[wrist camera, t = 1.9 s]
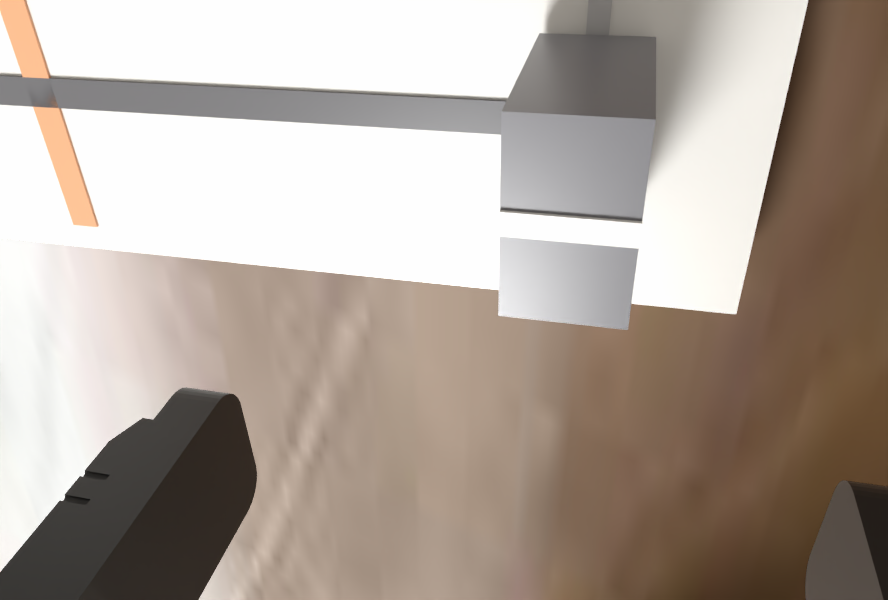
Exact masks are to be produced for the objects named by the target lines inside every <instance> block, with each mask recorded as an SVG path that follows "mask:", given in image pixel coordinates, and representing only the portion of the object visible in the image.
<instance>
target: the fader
mask: <svg viewBox="0 0 888 600" xmlns="http://www.w3.org/2000/svg"><path fill="white" fill-rule="evenodd" d="M655 122H656V37H645V36H613V35H581V34H548V33H539V35H538V37H537V39H536V41H535V43H534V45H533V47H532V49H531V52H530V54H529V56H528V58H527V60H526V62H525V64H524V66H523V68H522V70H521V72H520V74H519V76H518V78H517V80H516V82H515V84H514V87H513V89H512V91H511V93H510V95H509V97H508V99H507V101H506V103H505V105H504V107H503V109H502V111H501V176H500V211H499V236H500V245H499V314H498V316H506V317H515V318H524V319H533V320H542V321H551V322H561V323H570V324H579V325H588V326H597V327H606V328H615V329H624V330H628V324H629V317H630V309H631V302H632V294H633V287H634V279H635V272H636V265H637V257H638V250H639V244H640V236H641V229H642V220H643V212H644V205H645V197H646V190H647V182H648V175H649V167H650V160H651V152H652V145H653V137H654V130H655Z"/></svg>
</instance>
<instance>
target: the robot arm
mask: <svg viewBox="0 0 888 600" xmlns="http://www.w3.org/2000/svg"><path fill="white" fill-rule="evenodd" d="M256 481H257V471H256V464H255V460H254V456H253V452H252V448H251V444H250V440H249V436H248V432H247V428H246V424H245V420H244V416H243V412H242V408H241V404H240V401H239V399H238V398H237V397H236V396H235V395H234V394H229V393H221V392H214V391H207V390H200V389H192V388H182V389H180V390H178V391H177V392H176V393H175V394H174V395H173V396H172V397H171V398H170V399H169V401H168V402H167V403H166V405H165V406H164V407H163V408H162V410H161V411H160V412H159V413H158V415H157V416H156V417H155V418H154V420H152V419H145V418H142V419H141V420H139V421H138V422H137V423H135V424H134V425H132V426H131V427H129V428H128V429H126V430H125V431H124V432H122V433H121V434H119V435H118V436H116V437H115V438H113V439H112V440H111V441H109V442H108V443H107V445H106V446H105V447H104V448H103V449H102V451H101V452H100V453H99V454H98V455H97V457H96V458H95V459H94V460H93V461H92V463H91V464H90V465H89V466H88V467H87V469H86V470H85V475H84V476H83V477H81V476H80V477H79V478H78V479H77V481H76V482H75V483H74V484H73V485H72V487H71V488H70V489H69V490H68V491H67V493H66V494H65V499H64V501H59V502H58V504H57V505H56V506H55V507H54V508H53V510H52V511H51V512H50V513H49V514H48V516H47V517H46V518H45V519H44V520H43V522H42V523H41V524H40V525H39V526H38V528H37V529H36V530H35V531H34V532H33V534H32V535H31V536H30V537H29V538H28V540H27V541H26V542H25V543H24V544H23V546H22V547H21V548H20V549H19V550H18V552H17V553H16V554H15V555H14V556H13V558H12V559H11V560H10V561H9V562H8V564H7V565H6V566H5V567H4V568H3V570H2V571H1V572H0V600H198V599H199V598H200V596H201V594H202V592H203V590H204V589H205V587H206V585H207V583H208V581H209V580H210V578H211V576H212V574H213V573H214V571H215V569H216V567H217V565H218V564H219V562H220V560H221V558H222V557H223V555H224V553H225V551H226V549H227V548H228V546H229V544H230V542H231V540H232V539H233V537H234V535H235V533H236V532H237V530H238V528H239V526H240V524H241V523H242V521H243V519H244V517H245V516H246V514H247V512H248V510H249V508H250V506H251V503H252V500H253V497H254V493H255V488H256ZM805 594H806V600H888V486H880V485H873V484H866V483H859V482H851V481H844V480H843V481H841V482H839V483H838V485H837V486H836V488H835V491H834V493H833V496H832V498H831V501H830V504H829V506H828V509H827V512H826V514H825V517H824V520H823V522H822V525H821V527H820V530H819V533H818V535H817V538H816V541H815V543H814V546H813V549H812V551H811V554H810V557H809V560H808V565H807V571H806V583H805Z"/></svg>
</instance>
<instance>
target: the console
mask: <svg viewBox="0 0 888 600" xmlns="http://www.w3.org/2000/svg"><path fill="white" fill-rule="evenodd" d="M807 4H808V0H0V239H9V240H19V241H29V242H38V243H48V244H58V245H68V246H77V247H87V248H97V249H106V250H116V251H126V252H135V253H145V254H155V255H165V256H174V257H184V258H194V259H203V260H213V261H223V262H232V263H242V264H252V265H262V266H271V267H281V268H291V269H300V270H310V271H320V272H330V273H339V274H349V275H359V276H368V277H378V278H388V279H397V280H407V281H417V282H427V283H436V284H446V285H456V286H465V287H475V288H485V289H495V290H499V245H500V236H499V211H500V176H501V111H502V109H503V107H504V105H505V103H506V101H507V99H508V97H509V95H510V93H511V91H512V89H513V87H514V84H515V82H516V80H517V78H518V76H519V74H520V72H521V70H522V68H523V66H524V64H525V62H526V60H527V58H528V56H529V54H530V52H531V49H532V47H533V45H534V43H535V41H536V39H537V37H538V35H539V33H548V34H581V35H613V36H645V37H656V122H655V130H654V137H653V145H652V152H651V160H650V167H649V175H648V182H647V190H646V197H645V205H644V212H643V220H642V229H641V236H640V244H639V250H638V257H637V265H636V272H635V279H634V287H633V294H632V302H631V304H640V305H650V306H660V307H669V308H679V309H689V310H698V311H708V312H718V313H727V314H736V313H737V308H738V304H739V300H740V295H741V291H742V287H743V282H744V278H745V274H746V269H747V265H748V261H749V256H750V252H751V248H752V243H753V239H754V235H755V230H756V226H757V222H758V217H759V213H760V208H761V204H762V200H763V195H764V191H765V187H766V182H767V178H768V174H769V169H770V165H771V161H772V156H773V152H774V148H775V143H776V139H777V135H778V130H779V126H780V122H781V117H782V113H783V109H784V104H785V100H786V95H787V91H788V87H789V82H790V78H791V74H792V69H793V65H794V61H795V56H796V52H797V48H798V43H799V39H800V35H801V30H802V26H803V22H804V17H805V13H806V9H807Z"/></svg>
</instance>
